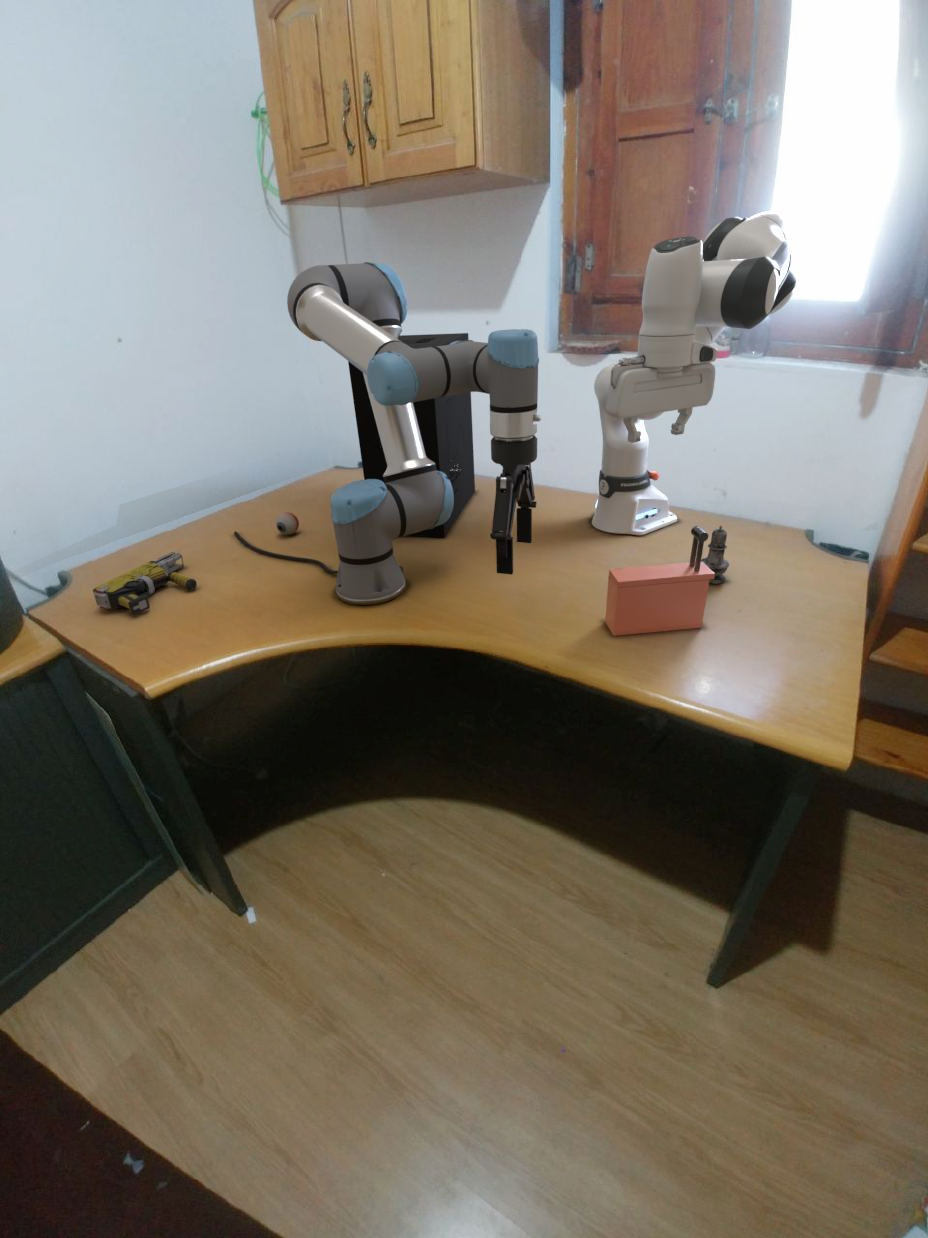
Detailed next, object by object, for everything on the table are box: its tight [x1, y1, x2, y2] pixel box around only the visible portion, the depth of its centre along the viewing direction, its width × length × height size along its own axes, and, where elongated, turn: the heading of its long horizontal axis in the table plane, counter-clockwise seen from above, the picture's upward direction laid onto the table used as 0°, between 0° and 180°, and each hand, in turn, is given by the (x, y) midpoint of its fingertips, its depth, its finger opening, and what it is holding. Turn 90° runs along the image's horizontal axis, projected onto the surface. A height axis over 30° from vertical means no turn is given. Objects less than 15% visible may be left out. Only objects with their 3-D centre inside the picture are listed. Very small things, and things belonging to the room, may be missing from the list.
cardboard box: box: [347, 332, 476, 538], centre depth 164 cm, size 38×20×45 cm, turn 167°
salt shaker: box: [701, 525, 730, 585], centre depth 127 cm, size 6×6×12 cm
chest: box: [604, 575, 710, 637], centre depth 112 cm, size 17×5×10 cm, turn 95°
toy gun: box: [92, 551, 198, 616], centre depth 137 cm, size 5×24×15 cm
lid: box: [608, 525, 715, 587], centre depth 108 cm, size 18×5×9 cm, turn 95°
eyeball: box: [275, 511, 300, 536], centre depth 163 cm, size 6×6×6 cm
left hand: (515, 556), depth 108 cm, fingers open, 13 cm apart
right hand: (655, 437), depth 107 cm, fingers open, 8 cm apart
